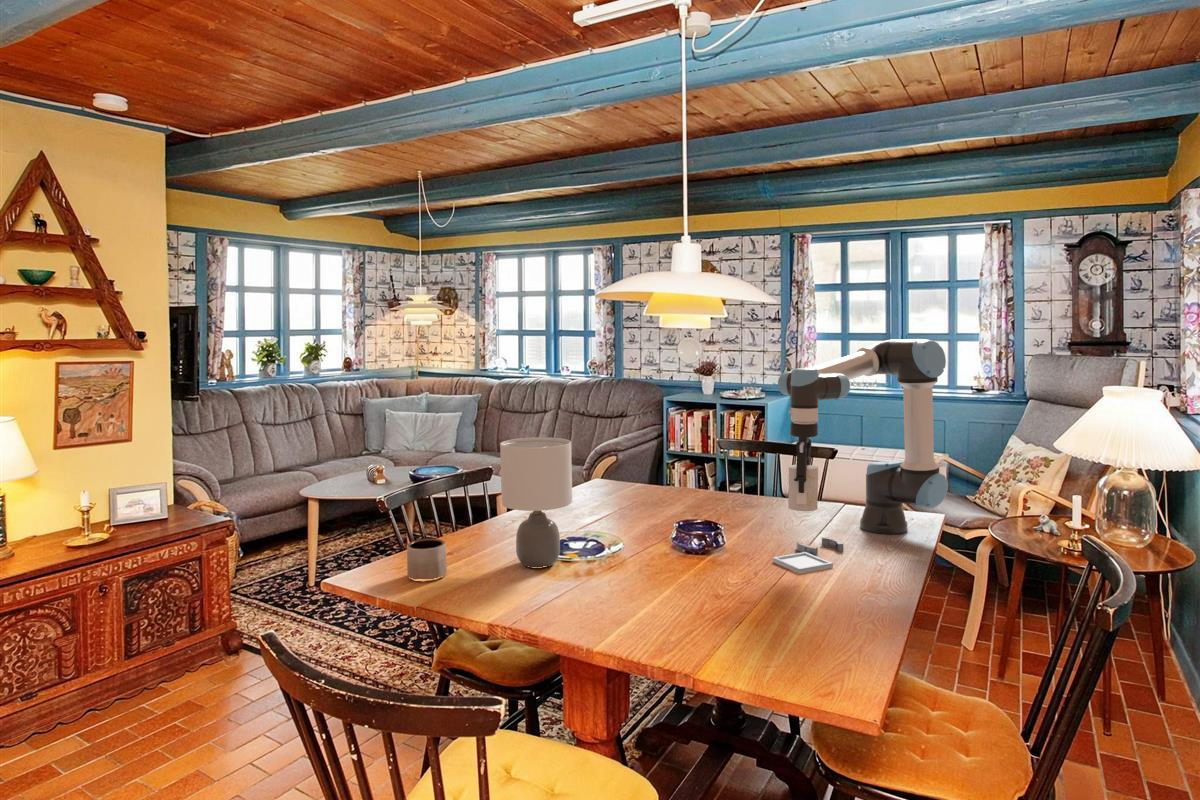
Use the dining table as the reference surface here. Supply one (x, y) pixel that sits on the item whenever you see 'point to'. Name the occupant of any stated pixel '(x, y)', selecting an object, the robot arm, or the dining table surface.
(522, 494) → the lamp
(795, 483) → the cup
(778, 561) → the tray
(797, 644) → the dining table surface
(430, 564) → the planter
